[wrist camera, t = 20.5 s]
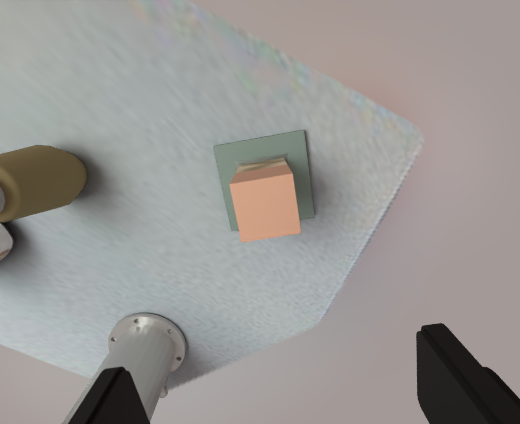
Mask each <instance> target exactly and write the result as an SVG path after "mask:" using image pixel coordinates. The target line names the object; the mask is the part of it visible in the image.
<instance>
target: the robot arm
mask: <svg viewBox="0 0 520 424" xmlns="http://www.w3.org/2000/svg"><path fill="white" fill-rule="evenodd" d="M416 335H417V336H416V338H417V340H416V341H417V396H418V401H419V404H420V407H421V409H422V411H423V412H424V414H425V416H426V418H427V420H428V421H429V423H430V424H520V399H519V398H518V397H517V395H515V393H514V392H513V391H512V390H511V389H510V388H509V387H508V386H507V385H506V384H505V383H504V382H503V380H501V378H500V377H499V376H498V375H497V374H496V373H495V372H494V371H492V370H491V369H489V368H488V367H482V366H481V365H480V364H479V362H478V361H477V360H476V359H475V358H474V357H473V356H472V355H471V353H470V352H469V351H468V350H467V349H466V348H465V347H464V346H463V345H462V343H461V342H460V341H459V340H458V339H457V338H456V337H455V336H454V334H452V332H451V331H450V330H449V329H448V328H447V327H446V326H445V325H444V324H442V323H439V324H432V325H424V326H422V328H421V331H418V332H417V334H416ZM108 346H109V351H110V352H109V354H108V355H107V357H106V358H105V360H104V361H103V363H102V364H101V366H100V367H99V369H98V370H97V372H96V373H95V375H94V376H93V378H92V379H91V381H90V382H89V384H88V386H87V387H86V388H85V390H84V391H83V393H82V394H81V396H80V398H79V399H78V401H77V402H76V404H75V405H74V407H73V408H72V410H71V411H70V412H69V414H68V416H67V417H66V419H65V420H64V421H63V423H62V424H150V420H151V417H152V415H153V412H154V410H155V407H156V404H157V402H158V399H159V397H160V398H164V397H165V396H166V395H167V393H168V391H167V389H166V386H165V384H166V381H167V378H168V376H169V374H171V373H173V372H174V371H175V370H177V369H178V367H179V366H180V365H181V363H182V362H183V359H184V356H185V352H186V342H185V339H184V336H183V335H182V333H181V331H180V330H179V329H178V328H177V326H175V325H174V324H173V323H172V322H171V321H169V320H167V319H165V318H163V317H161V316H158V315H154V314H148V313H140V314H134V315H130V316H128V317H126V318H124V319H122V320H121V321H120V322H118V323H117V325H116V326H115V327H114V329H113V330H112V332H111V333H110V336H109V342H108Z"/></svg>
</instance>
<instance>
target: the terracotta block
mask: <svg viewBox="0 0 520 424" xmlns="http://www.w3.org/2000/svg"><path fill="white" fill-rule="evenodd" d="M229 186H230V190H231V195H232V200H233V204H234V209H235V214H236V219H237V223H238V228H239V233H240V237H241V242H248V241H254V240H260V239H266V238H273V237H279V236H285V235H291V234H298V233H301V228H300V221H299V214H298V207H297V200H296V193H295V187H294V180H293V173H292V171H291V170H290V168H289V166H288V165H287V164H286V165H280V166H275V167H269V168H263V169H258V170H252V171H246V172H240V173H235V175H234V176H233V178H232V180H231V182H230V184H229Z"/></svg>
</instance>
